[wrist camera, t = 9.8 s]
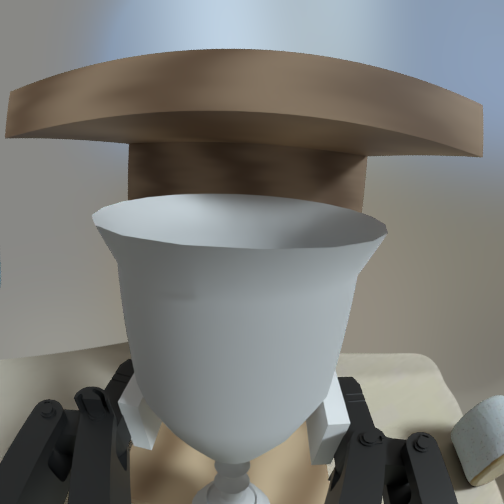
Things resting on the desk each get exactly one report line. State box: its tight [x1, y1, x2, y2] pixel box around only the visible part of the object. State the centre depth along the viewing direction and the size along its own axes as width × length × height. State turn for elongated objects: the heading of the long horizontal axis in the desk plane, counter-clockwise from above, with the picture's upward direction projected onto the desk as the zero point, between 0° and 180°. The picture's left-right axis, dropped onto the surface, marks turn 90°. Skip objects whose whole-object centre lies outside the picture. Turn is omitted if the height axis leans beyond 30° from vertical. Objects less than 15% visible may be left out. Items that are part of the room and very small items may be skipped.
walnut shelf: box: [5, 49, 483, 504], centre depth 18 cm, size 18×14×29 cm
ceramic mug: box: [451, 395, 504, 486], centre depth 16 cm, size 11×8×8 cm
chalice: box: [92, 194, 388, 504], centre depth 10 cm, size 7×7×18 cm
